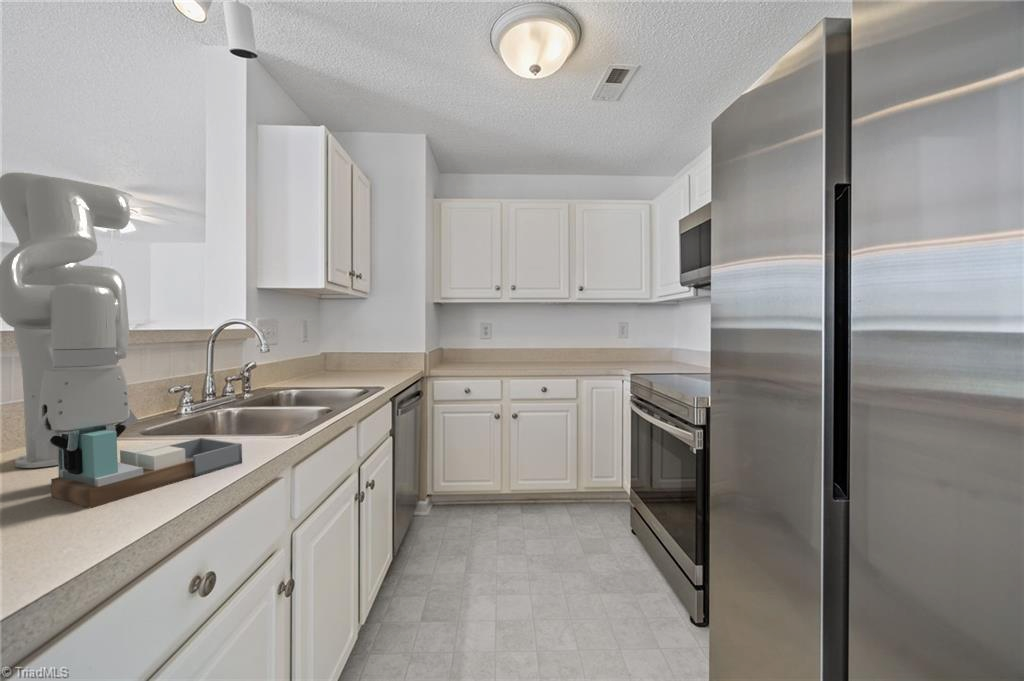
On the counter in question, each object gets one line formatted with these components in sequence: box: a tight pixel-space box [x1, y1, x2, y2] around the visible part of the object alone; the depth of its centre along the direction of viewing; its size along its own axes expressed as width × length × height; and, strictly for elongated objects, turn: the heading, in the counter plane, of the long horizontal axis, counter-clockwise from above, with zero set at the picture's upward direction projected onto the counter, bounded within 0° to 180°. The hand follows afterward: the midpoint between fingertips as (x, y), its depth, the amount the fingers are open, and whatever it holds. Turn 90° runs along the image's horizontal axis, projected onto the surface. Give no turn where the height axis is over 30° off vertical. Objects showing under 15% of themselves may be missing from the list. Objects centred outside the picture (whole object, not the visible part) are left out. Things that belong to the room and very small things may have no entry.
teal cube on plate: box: [60, 428, 143, 487], centre depth 72 cm, size 12×6×8 cm, turn 67°
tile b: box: [137, 445, 185, 470], centre depth 78 cm, size 5×5×2 cm
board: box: [50, 459, 195, 509], centre depth 75 cm, size 12×15×3 cm
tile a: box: [119, 442, 168, 466], centre depth 80 cm, size 5×5×2 cm
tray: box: [168, 437, 243, 478], centre depth 86 cm, size 13×9×4 cm
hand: (89, 468), depth 71 cm, fingers closed on teal cube on plate, 3 cm apart
